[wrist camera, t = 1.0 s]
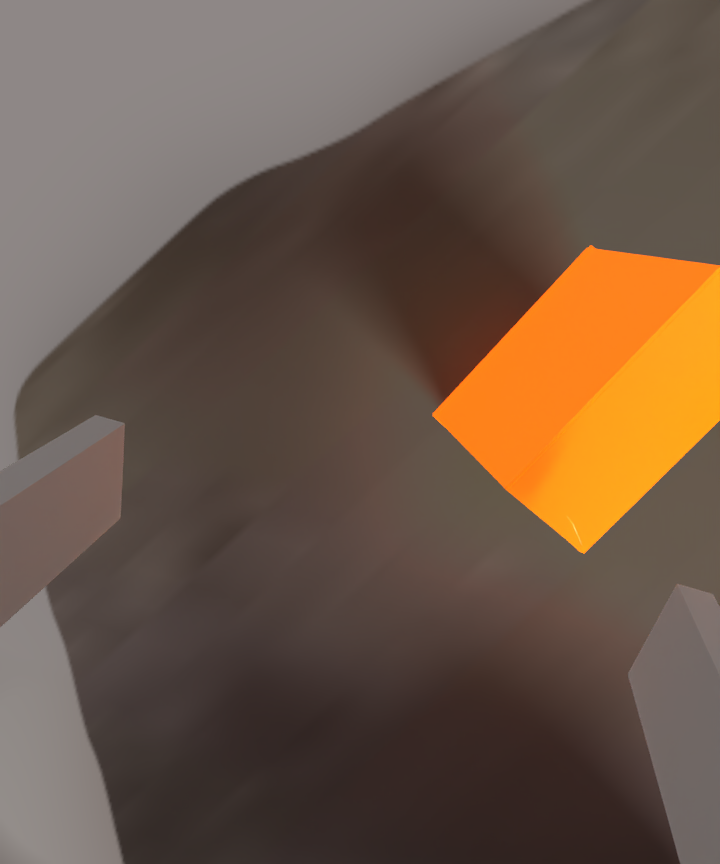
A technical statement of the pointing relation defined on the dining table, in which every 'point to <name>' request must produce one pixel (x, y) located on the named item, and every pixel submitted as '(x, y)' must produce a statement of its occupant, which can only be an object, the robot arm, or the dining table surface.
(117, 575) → the dining table surface
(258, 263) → the dining table surface
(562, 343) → the orange juice
